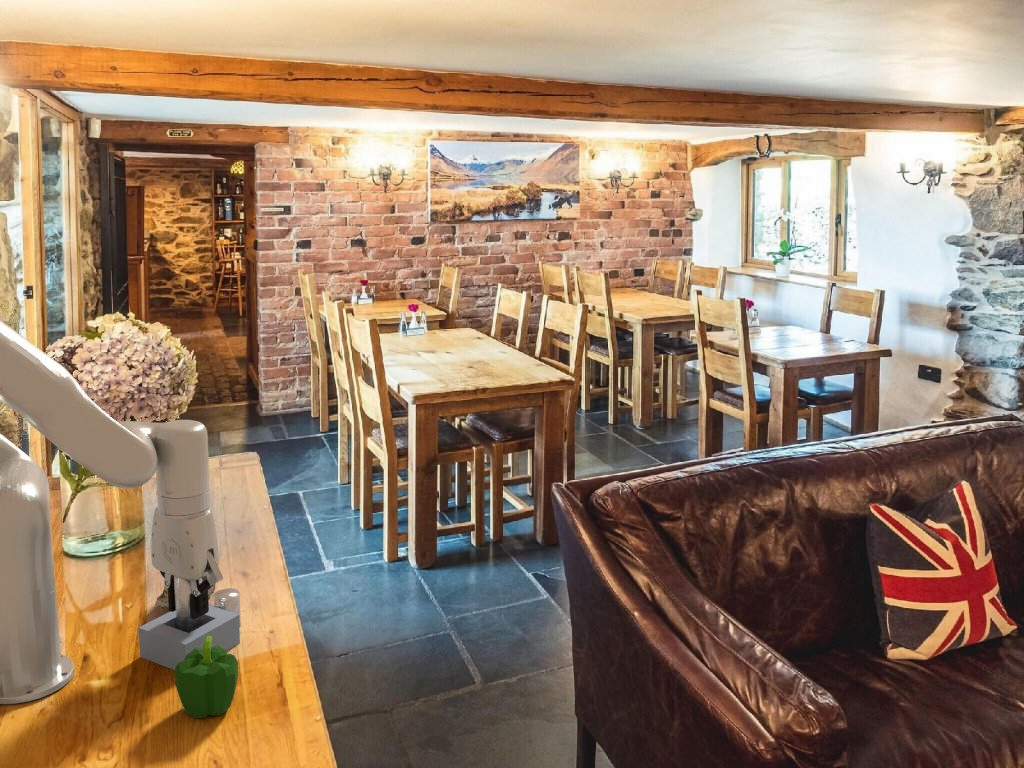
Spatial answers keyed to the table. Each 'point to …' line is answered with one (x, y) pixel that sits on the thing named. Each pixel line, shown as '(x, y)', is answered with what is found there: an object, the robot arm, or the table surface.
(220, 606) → the short pin
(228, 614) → the hole block
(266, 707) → the table surface
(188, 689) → the bell pepper
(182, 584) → the long pin
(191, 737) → the table surface
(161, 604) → the mineral specimen
